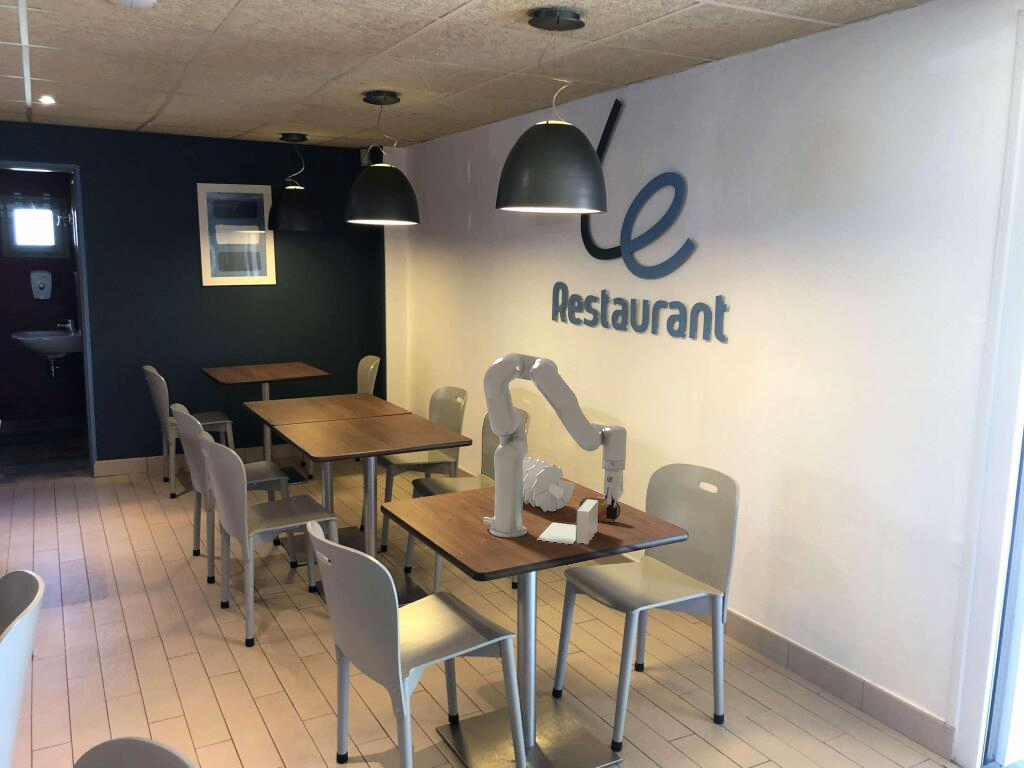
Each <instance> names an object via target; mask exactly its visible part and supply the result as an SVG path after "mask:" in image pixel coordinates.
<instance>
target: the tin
mask: <svg viewBox="0 0 1024 768" xmlns="http://www.w3.org/2000/svg"><path fill="white" fill-rule="evenodd" d="M586 499H590V500H598V520H599V521H598V522H602V521H604V522H603V523H608V522H610V523H614V522H616V520H618V519H619V517H620V514H621V506H620V504H619V502H618V501H617V518H616V519H607V518H606V511H607V499H606V500H605V499H604V496H602V497H601V496H596V495H595V496H594V495H587V496H586V497H584V498H582V499H581V501H580V502H579V505H578V508H579V507H580V506H581V505H582V504H583V503H584V502H585V501H586Z"/></svg>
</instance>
